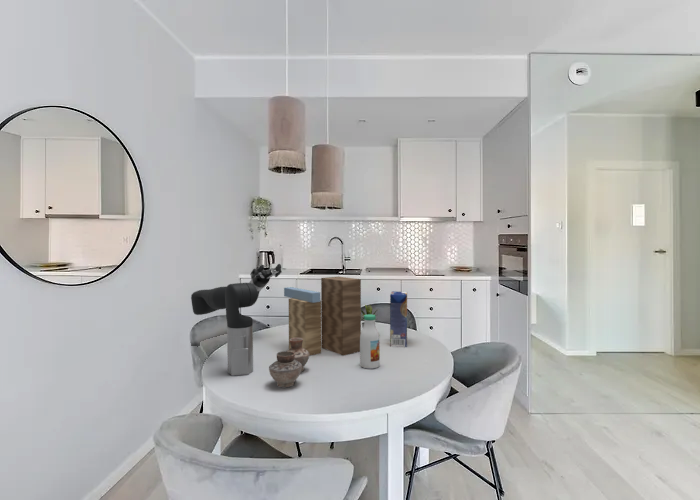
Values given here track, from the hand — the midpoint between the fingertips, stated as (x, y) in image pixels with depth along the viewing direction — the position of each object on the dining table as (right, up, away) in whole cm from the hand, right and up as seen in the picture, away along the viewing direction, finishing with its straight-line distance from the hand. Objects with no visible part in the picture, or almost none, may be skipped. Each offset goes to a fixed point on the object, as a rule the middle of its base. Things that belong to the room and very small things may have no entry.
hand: (271, 265), depth 184 cm
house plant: (+46, -37, +19) cm, 61 cm away
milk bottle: (+45, -38, -31) cm, 66 cm away
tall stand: (+33, -37, -8) cm, 50 cm away
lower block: (+17, -37, -11) cm, 42 cm away
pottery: (+16, -39, -43) cm, 60 cm away
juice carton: (+60, -37, +2) cm, 71 cm away
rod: (+15, -14, -10) cm, 23 cm away
